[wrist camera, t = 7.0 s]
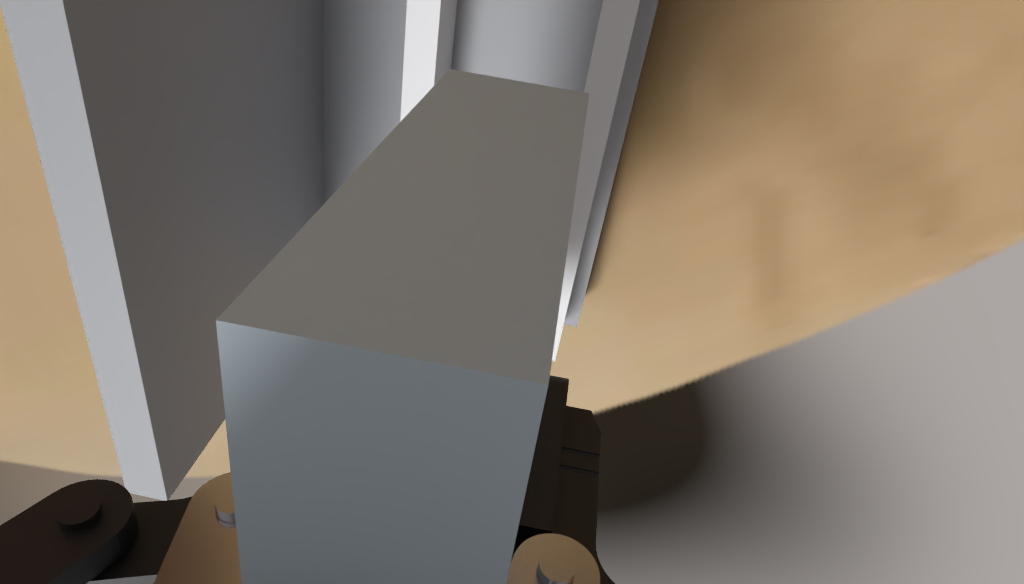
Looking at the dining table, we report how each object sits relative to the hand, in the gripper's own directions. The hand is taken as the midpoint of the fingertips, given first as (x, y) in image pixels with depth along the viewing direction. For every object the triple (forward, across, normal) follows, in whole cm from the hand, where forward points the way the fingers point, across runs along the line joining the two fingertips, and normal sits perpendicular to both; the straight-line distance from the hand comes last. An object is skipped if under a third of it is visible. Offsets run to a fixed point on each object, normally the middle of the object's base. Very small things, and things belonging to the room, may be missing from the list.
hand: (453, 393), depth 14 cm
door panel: (+4, 0, +1) cm, 4 cm away
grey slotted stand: (+15, +3, 0) cm, 16 cm away
